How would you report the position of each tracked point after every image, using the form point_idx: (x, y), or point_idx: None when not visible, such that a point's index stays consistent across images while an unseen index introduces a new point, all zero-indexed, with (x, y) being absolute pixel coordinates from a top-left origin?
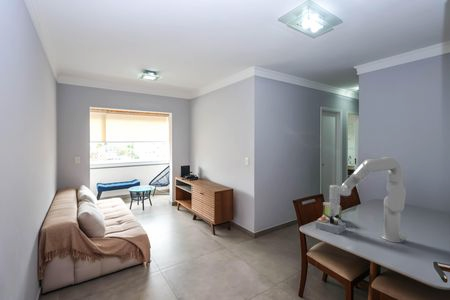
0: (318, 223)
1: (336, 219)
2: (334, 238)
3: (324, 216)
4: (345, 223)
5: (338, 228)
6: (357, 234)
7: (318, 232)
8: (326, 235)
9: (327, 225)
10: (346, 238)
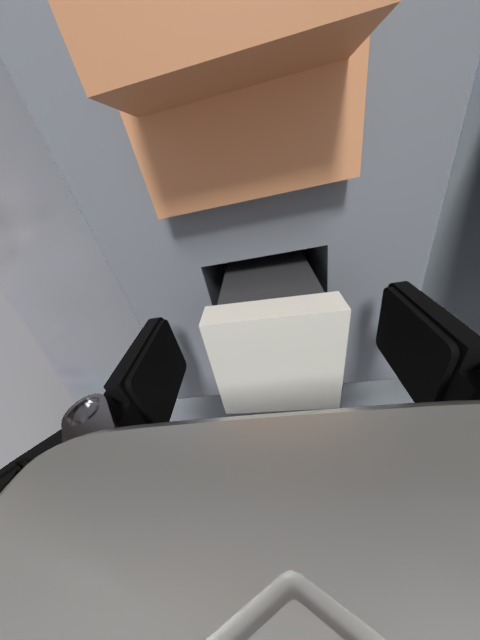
0: (35, 94)
1: (255, 408)
2: (102, 365)
3: (245, 47)
4: (394, 378)
5: (178, 393)
6: (320, 409)
7: (25, 215)
8: (72, 307)
9: (123, 285)
10: (187, 400)
